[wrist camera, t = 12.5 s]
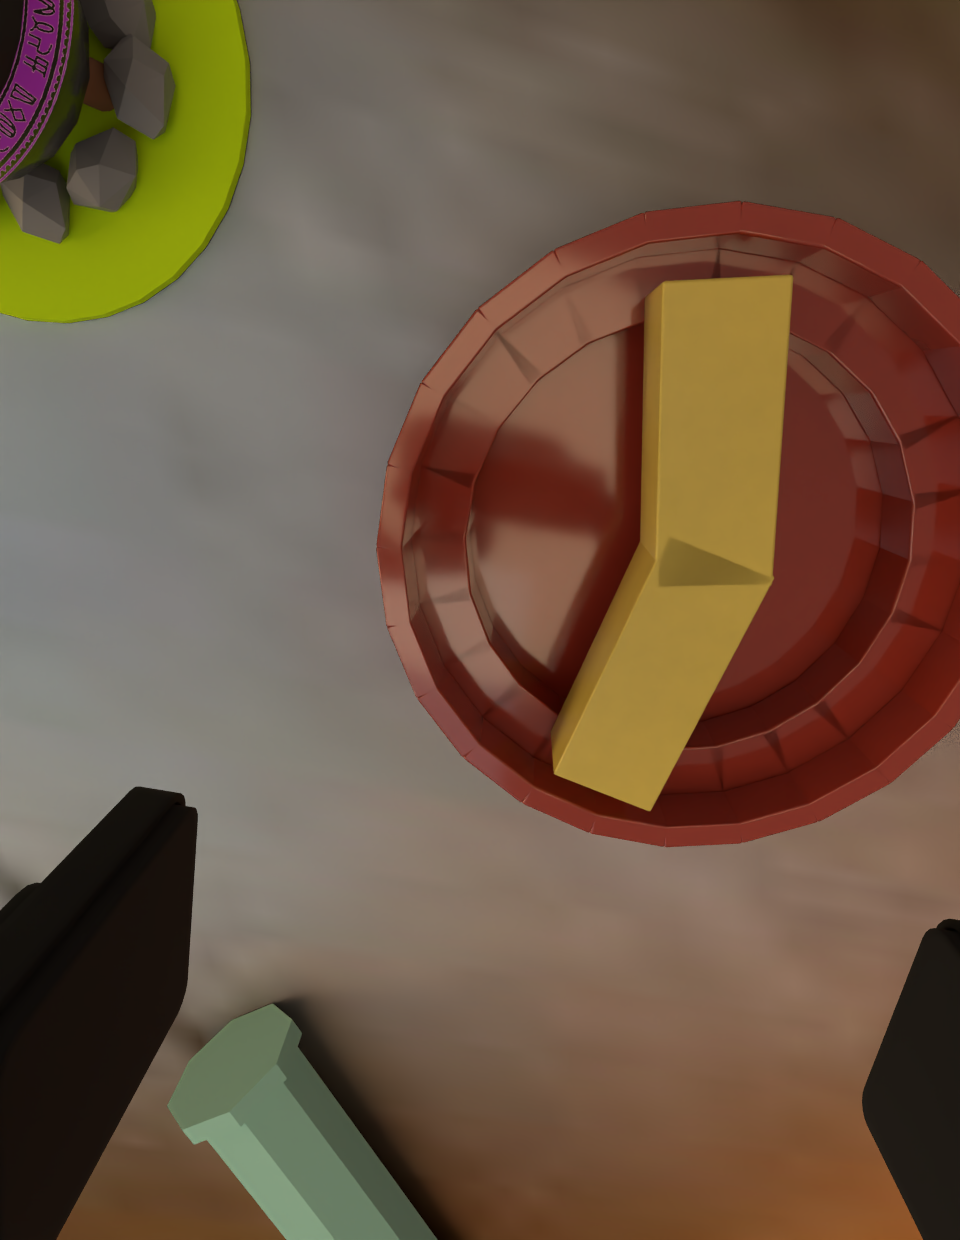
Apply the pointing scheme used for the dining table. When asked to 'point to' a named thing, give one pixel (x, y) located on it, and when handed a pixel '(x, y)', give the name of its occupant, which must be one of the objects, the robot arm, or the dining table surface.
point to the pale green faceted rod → (289, 1136)
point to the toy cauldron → (114, 147)
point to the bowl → (611, 517)
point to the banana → (686, 533)
